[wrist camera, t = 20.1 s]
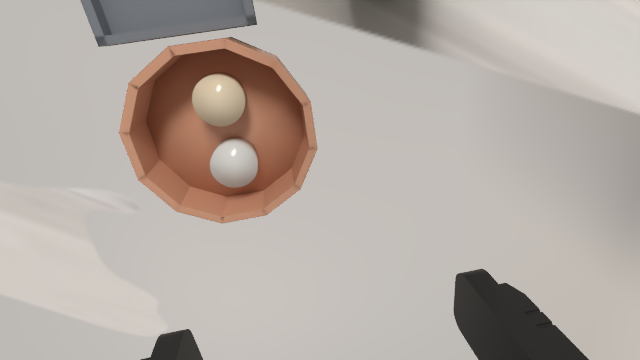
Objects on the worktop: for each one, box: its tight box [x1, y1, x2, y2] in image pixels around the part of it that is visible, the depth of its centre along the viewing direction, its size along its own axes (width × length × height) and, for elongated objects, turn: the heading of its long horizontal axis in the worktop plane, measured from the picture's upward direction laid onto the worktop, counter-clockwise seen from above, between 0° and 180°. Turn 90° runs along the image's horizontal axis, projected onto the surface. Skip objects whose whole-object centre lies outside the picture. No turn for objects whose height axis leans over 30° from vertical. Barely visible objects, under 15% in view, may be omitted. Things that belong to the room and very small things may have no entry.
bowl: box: [119, 37, 317, 223], centre depth 34 cm, size 18×18×6 cm
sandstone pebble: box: [192, 72, 246, 126], centre depth 33 cm, size 5×5×3 cm
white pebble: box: [210, 137, 258, 188], centre depth 36 cm, size 5×5×3 cm
